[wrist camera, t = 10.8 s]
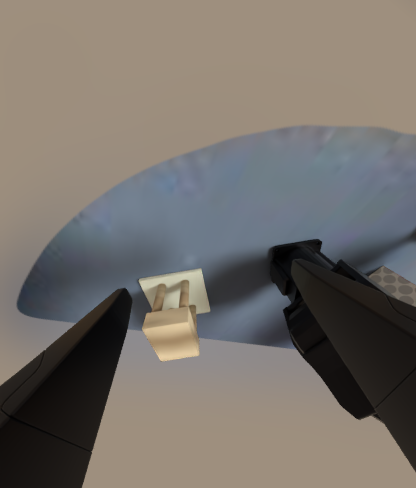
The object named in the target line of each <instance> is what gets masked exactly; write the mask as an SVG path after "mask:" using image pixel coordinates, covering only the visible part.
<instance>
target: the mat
mask: <svg viewBox="0 0 416 488" xmlns="http://www.w3.org/2000/svg"><path fill="white" fill-rule="evenodd" d="M182 280H188V281H189V306H190V305H196V314H200V313H206V312H210V306H209V302H208V297H207V293H206V288H205V284H204V279H203V275H202V270H201V268H200V269H194V270H188V271H182V272H176V273H170V274H164V275H158V276H152V277H146V278H140V279H139V283H140V285H141V287H142V289H143V291H144V293H145V295H146V297H147V299H148V301H149V303H150V305H151V307H153V304H154V300H155V296H156V292H157V289H158V285H159V284H161V283H163V284H165V285H166V286H167V287H166V292H165V297H164V302H163V307H162V311H163V310H168V309H170V308H174V309H175V308H179V299H180V289H181V281H182Z"/></svg>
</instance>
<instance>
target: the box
mask: <svg viewBox="0 0 416 488" xmlns="http://www.w3.org/2000/svg"><path fill="white" fill-rule="evenodd" d="M368 277H369V278H370V279H372V280H373V281H375V282H376V283H377V284H379V285H380V286H382V287H383V288H384V289H386V290H387V291H388V292H390V293H391V294H392V295H393V296H395V297H396V298H397V299H398V300H401V301H403V302H405V303H408V304H410V305H413V306H415V307H416V285H414V284H413V283H411V282H409V281H408V280H406V279H404V278H403V277H401V276H400V275H398V274H396V273H395V272H393V271H391V270H390V269H388V268H386V267H385V266H382V267H381V268H379V269H378V270H377V271H375V272H374V273H372V274H371V275H370V276H368Z"/></svg>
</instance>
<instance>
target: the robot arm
mask: <svg viewBox="0 0 416 488" xmlns="http://www.w3.org/2000/svg"><path fill="white" fill-rule="evenodd" d="M321 245H322V241H320V240H319V239H316V240H310V241H304V242H298V243H292V244H286V245H280V246H275V247H274V248H273V258H272V261H271V270H270V275H271V280H272V282H273V283H275V284H276V285H277V287H278V288H279V290H280V292H281V293H282V295H284V296H286V295H287V296H288V298H289V300H290V301H291V304H290V305H289V306H288V307H286V308H284V309H283V312H284V315H285V319H286V322H287V326H288V329H289V333H290V337H291V339H292V342H293V345H294V346H295V348H296V349H297V350H298V352H299V353H300V354H301V355H302V357H303V358H304V359H305V360H306V361H307V362H308V363H309V364H310V365H311V366H312V367H313V368H314V370H315V371H316V372H317V373H318V374H319V376H320V377H321V378H322V379H323V381H324V382H325V384H326V385H327V386H328V388H329V389H330V391H331V392H332V394H333V395H334V397H335V398H336V399H337V401H338V402H339V404H340V405H341V406H342V407H343V408H344V409H345V410H347V411H348V412H349V413H350V414H351V415H353V416H354V417H355V418H356V419H359V420H361V419H363V418H366V417H369V416H373V417H374V418H376V419H377V420H379V421H381V422H382V423H384V424H385V426H386V427H387V429H388V430H389V432H390V433H391V435H392V436H393V438H394V439H395V441H396V443H397V444H398V445H399V447H400V449H401V450H402V452H403V453H404V455H405V456H406V458H407V459H408V461H409V462H410V464H411V466H412V467H413V469H414V470H415V472H416V307H415V306H413V305H410V304H408V303H405V302H403V301H401V300H398V299H397V298H396V297H395V296H393V295H392V294H391V293H390V292H388V291H387V290H386V289H384V288H383V287H382V286H380V285H379V284H377V283H376V282H375V281H373V280H372V279H370V278H369V277H368V276H366V275H365V274H363V273H362V272H360V271H359V270H357V269H355V268H354V267H352V266H351V265H349V264H348V263H346V262H345V261H343V260H340V261H338V262H337V264H335V263H334V262H332V261H331V260H330V259H329V258H327V257H326V256H325V255H324V254H322V253H321V252H320V249H321ZM277 249H278V250H277ZM276 250H277V251H276ZM131 307H132V298H131V296H130V294H129V292H128V290H127V289H126V288H121V289H117V290H116V291H115V292H113V293H112V294H111V295H110V296H109V297H107V298H106V299H105V300H104V301H103V302H101V303H100V304H99V305H98V306H97V307H96V308H94V309H93V310H92V311H91V312H90V313H88V314H87V315H86V316H85V317H84V318H82V319H81V320H80V321H79V322H78V323H76V324H75V325H74V326H73V327H72V328H70V329H69V330H68V331H67V332H66V333H64V334H63V335H62V336H61V337H60V338H59V339H57V340H56V341H55V342H54V343H53V344H51V345H50V346H49V347H48V348H47V349H46V350H44V351H43V352H42V353H40V355H38V356H37V357H36V358H34V359H33V360H32V361H31V362H30V363H28V364H27V365H26V366H25V367H24V368H22V369H21V370H20V371H19V372H17V373H16V374H15V375H14V376H12V377H11V378H10V379H8V380H7V381H6V382H5V383H3V384H2V385H1V386H0V488H82V485H83V482H84V478H85V475H86V472H87V468H88V464H89V461H90V458H91V454H92V452H91V451H92V450H93V447H94V443H95V440H96V437H97V433H98V430H99V426H100V423H101V419H102V416H103V412H104V409H105V406H106V402H107V399H108V395H109V391H110V388H111V385H112V381H113V378H114V374H115V371H116V368H117V364H118V361H119V357H120V354H121V350H122V347H123V343H124V340H125V337H126V333H127V329H128V324H129V318H130V313H131Z"/></svg>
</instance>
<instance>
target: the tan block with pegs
mask: <svg viewBox="0 0 416 488" xmlns="http://www.w3.org/2000/svg"><path fill="white" fill-rule="evenodd" d="M166 287H167V286H166V285H165V284H163V283H161V284H159V285H158V289H157V292H156V296H155V300H154V304H153V307H152V311H151V313H147V314H146V317H145V321H144V324H143V327H142V330H143V332H144V333H145V335H146V337H147V339H148V340H149V342H150V344H151V345H152V347H153V349H154V350H155V352H156V354H157V355H158V357H159V359H160V360H161V362H162V361H168V360H174V359H180V358H187V357H193V356H199V338H198V335H197V325H196V305H190V306H189V281H188V280H182V281H181V289H180V299H179V308H175V309H174V308H170V309H168V310H163V311H162V307H163V302H164V297H165V292H166Z"/></svg>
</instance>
